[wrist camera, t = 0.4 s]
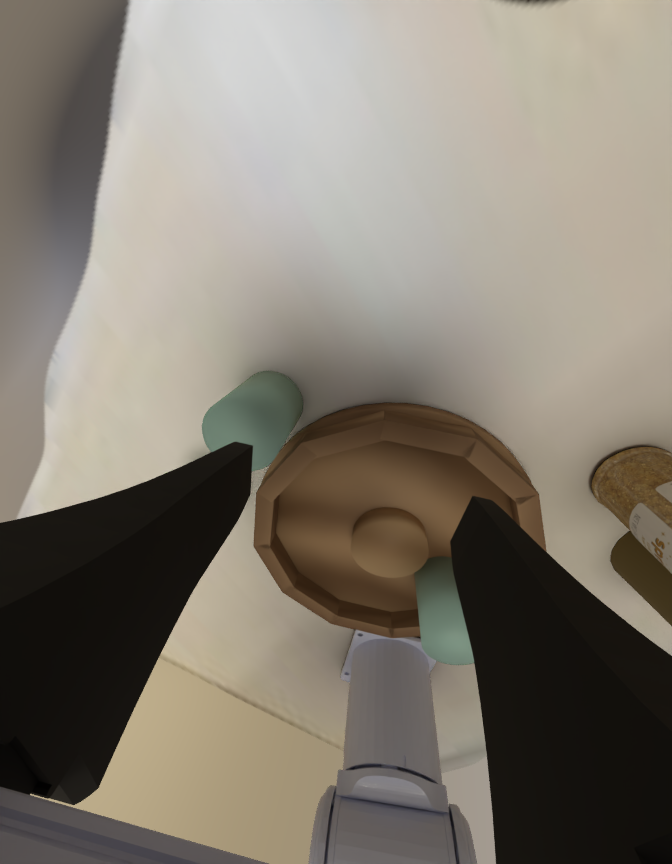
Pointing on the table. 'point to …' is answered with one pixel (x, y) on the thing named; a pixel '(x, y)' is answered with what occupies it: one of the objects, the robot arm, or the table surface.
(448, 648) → the seated bead
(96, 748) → the robot arm
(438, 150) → the table surface
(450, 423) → the groove tray
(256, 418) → the teal bead
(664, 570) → the olive rounded cylinder
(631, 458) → the sprinkles bottle
